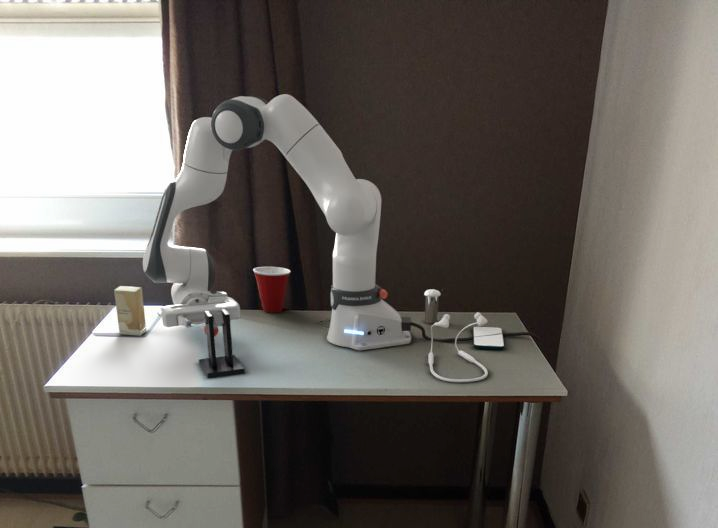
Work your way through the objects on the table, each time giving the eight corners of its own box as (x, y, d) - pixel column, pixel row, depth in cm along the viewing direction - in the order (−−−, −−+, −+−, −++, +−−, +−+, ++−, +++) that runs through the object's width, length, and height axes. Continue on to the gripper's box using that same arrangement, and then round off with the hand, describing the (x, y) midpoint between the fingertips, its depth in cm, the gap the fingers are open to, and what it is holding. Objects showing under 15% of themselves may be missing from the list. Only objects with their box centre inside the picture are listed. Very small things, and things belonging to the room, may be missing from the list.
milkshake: (440, 325, 212) (443, 289, 207) (421, 323, 213) (423, 288, 208) (442, 320, 216) (444, 285, 211) (423, 319, 217) (425, 284, 212)
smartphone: (472, 329, 209) (473, 348, 195) (472, 326, 209) (473, 345, 195) (501, 331, 208) (504, 350, 195) (502, 327, 208) (504, 346, 194)
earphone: (467, 335, 193) (490, 306, 175) (476, 397, 191) (500, 374, 173) (416, 338, 191) (434, 309, 173) (424, 401, 189) (443, 378, 171)
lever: (204, 339, 188) (201, 325, 188) (218, 337, 189) (215, 323, 189) (212, 327, 175) (209, 311, 175) (227, 325, 177) (224, 310, 176)
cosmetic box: (119, 334, 204) (112, 289, 198) (125, 329, 208) (119, 285, 202) (141, 336, 204) (135, 291, 197) (147, 331, 207) (141, 286, 201)
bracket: (198, 363, 186) (193, 308, 179) (234, 359, 189) (230, 304, 182) (207, 378, 178) (202, 321, 171) (244, 373, 181) (240, 316, 174)
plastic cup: (299, 309, 225) (298, 268, 219) (273, 317, 218) (271, 275, 212) (273, 302, 231) (271, 262, 225) (247, 310, 224) (245, 269, 218)
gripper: (154, 298, 196) (163, 314, 185) (231, 291, 202) (245, 305, 191) (157, 322, 199) (166, 339, 188) (233, 314, 205) (246, 329, 194)
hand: (206, 322), depth 190 cm, fingers open, 8 cm apart
